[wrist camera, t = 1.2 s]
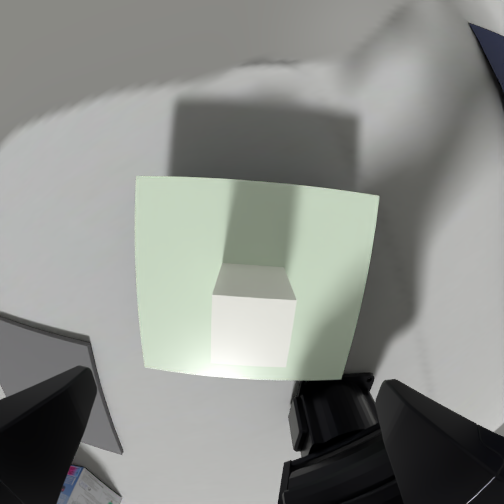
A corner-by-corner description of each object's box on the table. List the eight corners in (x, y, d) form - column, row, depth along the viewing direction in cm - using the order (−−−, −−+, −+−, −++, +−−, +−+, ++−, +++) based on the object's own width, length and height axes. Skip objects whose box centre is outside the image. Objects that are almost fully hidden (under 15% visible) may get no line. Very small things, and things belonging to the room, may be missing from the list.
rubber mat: (90, 342, 20) (87, 346, 20) (123, 451, 24) (121, 454, 24) (-24, 307, 20) (-27, 309, 19) (15, 408, 24) (13, 411, 23)
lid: (365, 193, 15) (422, 203, 9) (334, 363, 17) (359, 424, 12) (148, 176, 14) (96, 176, 9) (152, 351, 17) (123, 410, 12)
